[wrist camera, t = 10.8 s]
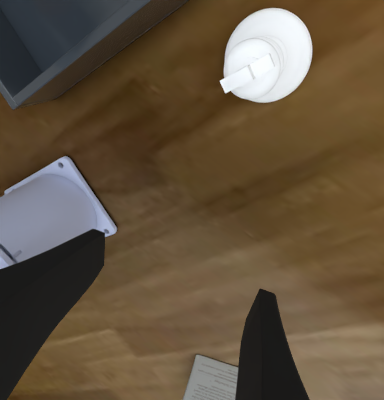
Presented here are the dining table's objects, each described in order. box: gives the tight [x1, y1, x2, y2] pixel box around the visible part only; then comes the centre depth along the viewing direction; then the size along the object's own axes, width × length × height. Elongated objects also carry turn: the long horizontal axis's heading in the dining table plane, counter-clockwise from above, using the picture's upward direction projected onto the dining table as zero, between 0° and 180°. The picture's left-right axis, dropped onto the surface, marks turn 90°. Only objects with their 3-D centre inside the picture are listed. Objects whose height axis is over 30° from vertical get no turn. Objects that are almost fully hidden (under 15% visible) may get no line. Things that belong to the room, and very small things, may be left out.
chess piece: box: [220, 8, 312, 103], centre depth 13 cm, size 5×5×10 cm
